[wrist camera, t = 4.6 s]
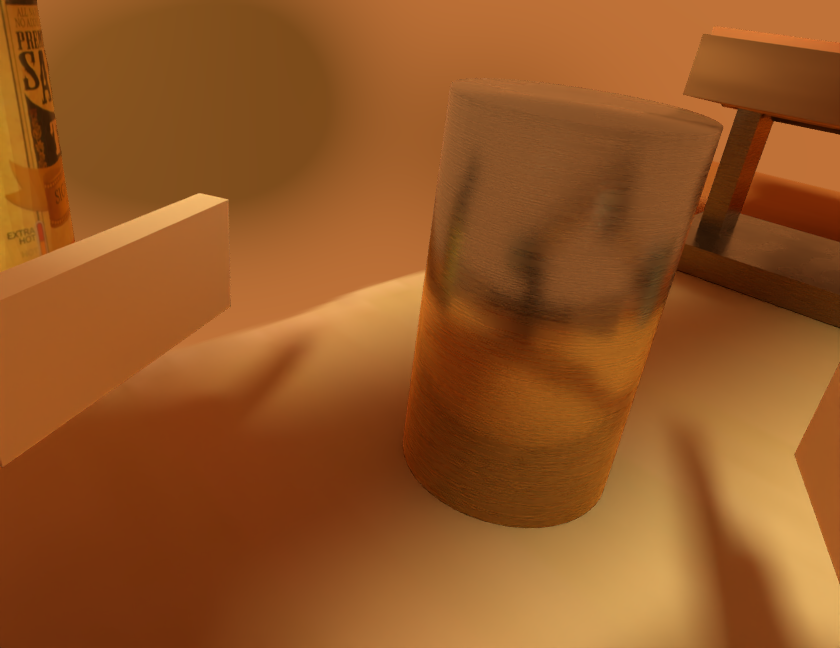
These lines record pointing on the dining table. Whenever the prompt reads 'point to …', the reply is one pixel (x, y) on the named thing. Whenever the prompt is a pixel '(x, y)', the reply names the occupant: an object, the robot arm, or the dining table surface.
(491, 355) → the glass jar
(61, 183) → the sauce bottle
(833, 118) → the beam
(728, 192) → the beam stand
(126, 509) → the dining table surface
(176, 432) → the dining table surface
